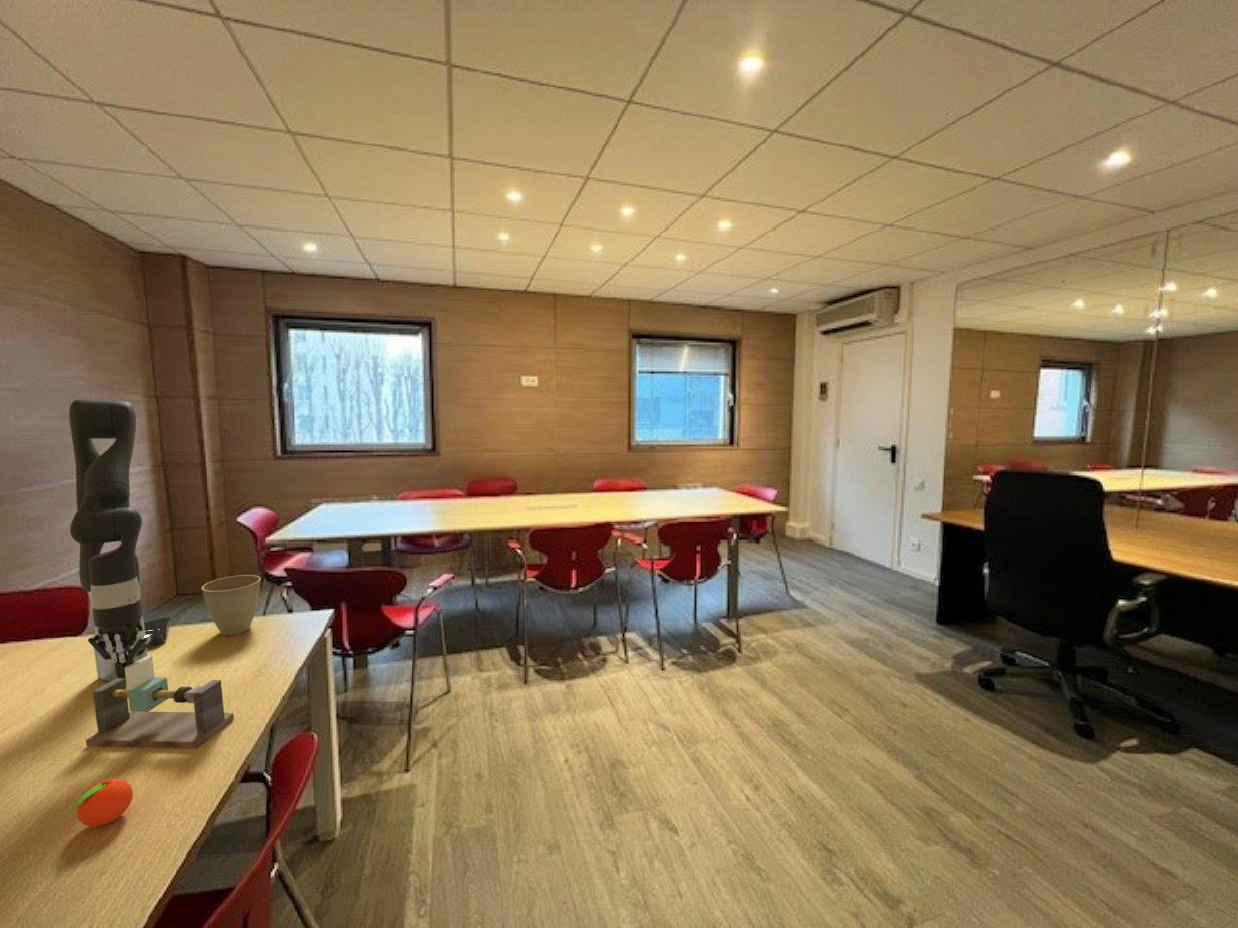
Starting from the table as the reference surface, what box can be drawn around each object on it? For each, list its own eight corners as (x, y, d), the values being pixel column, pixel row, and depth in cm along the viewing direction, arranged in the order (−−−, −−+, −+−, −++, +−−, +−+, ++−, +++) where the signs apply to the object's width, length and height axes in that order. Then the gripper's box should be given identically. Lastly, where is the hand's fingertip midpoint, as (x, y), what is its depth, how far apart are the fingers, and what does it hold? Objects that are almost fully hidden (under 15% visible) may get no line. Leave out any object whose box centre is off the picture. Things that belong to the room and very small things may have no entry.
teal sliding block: (129, 711, 109) (124, 667, 108) (151, 697, 114) (146, 655, 113) (148, 711, 109) (142, 667, 108) (169, 698, 114) (164, 656, 113)
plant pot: (227, 644, 153) (222, 593, 151) (195, 636, 158) (190, 587, 156) (275, 624, 167) (271, 577, 165) (244, 617, 172) (240, 572, 170)
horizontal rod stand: (86, 746, 108) (80, 697, 106) (132, 717, 118) (127, 672, 116) (197, 748, 107) (191, 699, 106) (233, 718, 117) (229, 674, 116)
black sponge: (166, 645, 153) (165, 633, 153) (128, 653, 148) (126, 641, 148) (171, 626, 166) (170, 615, 166) (136, 633, 161) (135, 622, 161)
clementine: (88, 846, 83) (83, 807, 83) (60, 836, 85) (55, 798, 84) (145, 809, 91) (140, 772, 90) (118, 800, 93) (113, 765, 92)
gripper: (67, 607, 105) (78, 685, 107) (129, 607, 105) (138, 686, 107) (105, 593, 113) (114, 667, 115) (162, 594, 112) (171, 668, 114)
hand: (126, 676), depth 111 cm, fingers closed
